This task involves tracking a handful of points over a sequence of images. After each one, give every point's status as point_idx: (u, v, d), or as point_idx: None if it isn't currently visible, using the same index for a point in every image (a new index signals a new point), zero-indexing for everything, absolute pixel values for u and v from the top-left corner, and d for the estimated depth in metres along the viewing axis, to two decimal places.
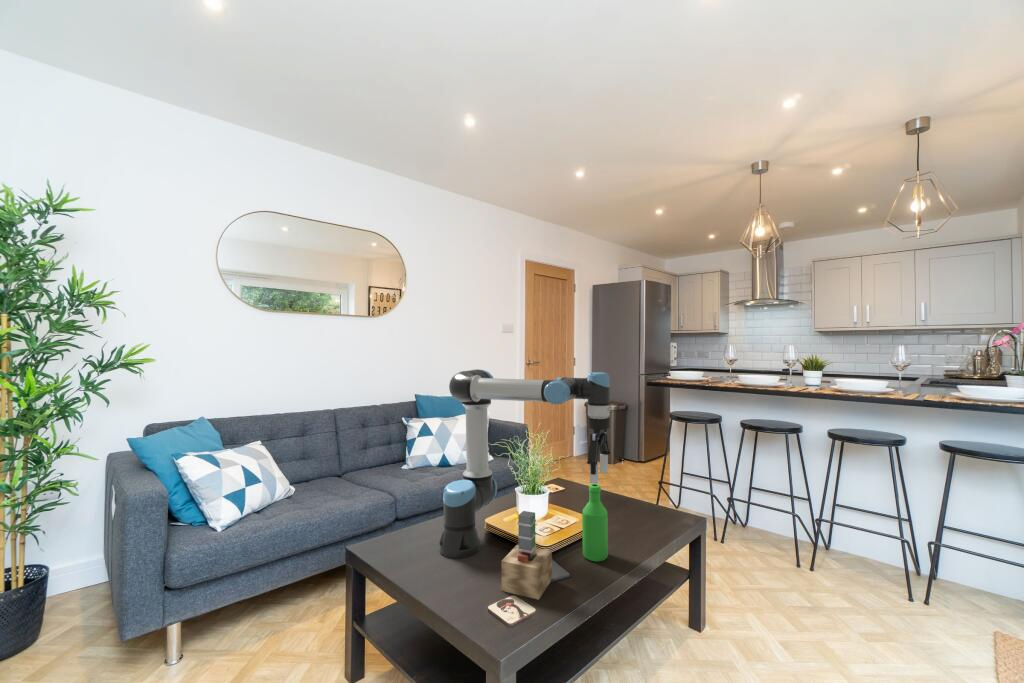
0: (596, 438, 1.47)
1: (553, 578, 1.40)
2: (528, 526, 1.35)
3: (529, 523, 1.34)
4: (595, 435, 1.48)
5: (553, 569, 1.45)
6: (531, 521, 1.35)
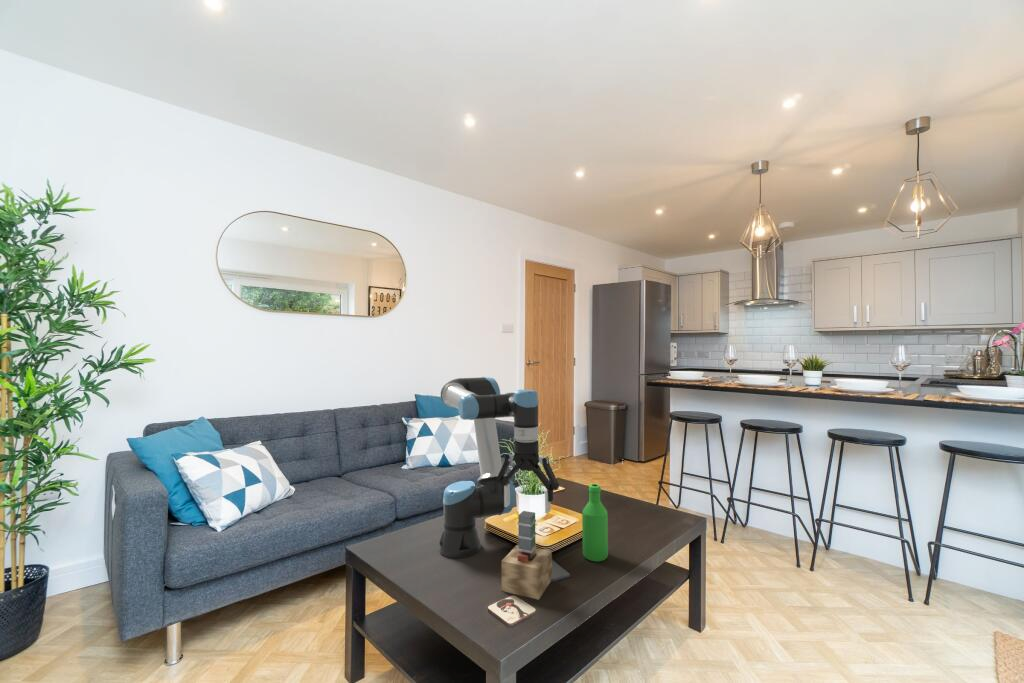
0: (505, 458, 1.39)
1: (553, 578, 1.40)
2: (528, 526, 1.35)
3: (529, 523, 1.34)
4: None
5: (553, 569, 1.45)
6: (531, 521, 1.35)
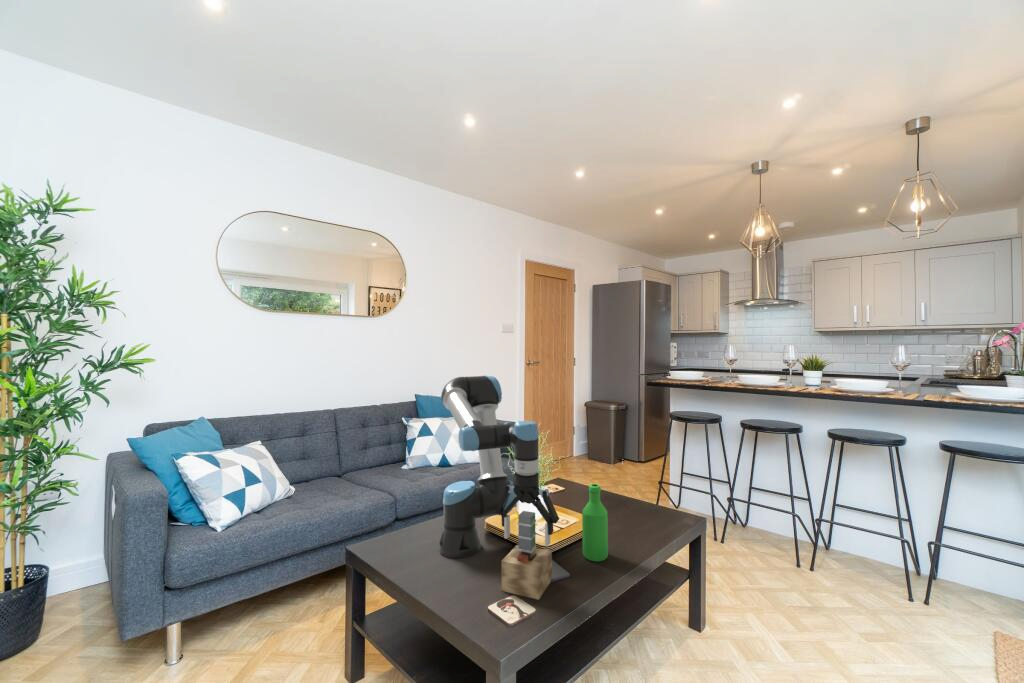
0: None
1: (553, 578, 1.40)
2: (528, 526, 1.35)
3: (529, 523, 1.34)
4: None
5: (553, 569, 1.45)
6: (531, 521, 1.35)
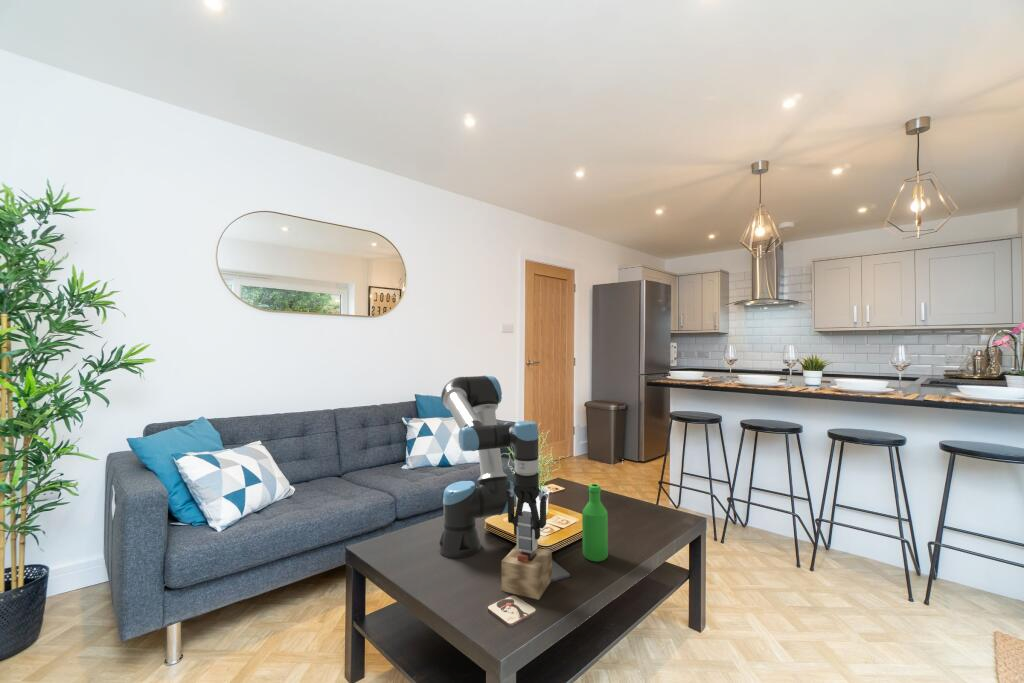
0: (507, 495, 1.39)
1: (553, 578, 1.40)
2: (528, 526, 1.35)
3: (529, 523, 1.34)
4: None
5: (553, 569, 1.45)
6: (531, 521, 1.35)
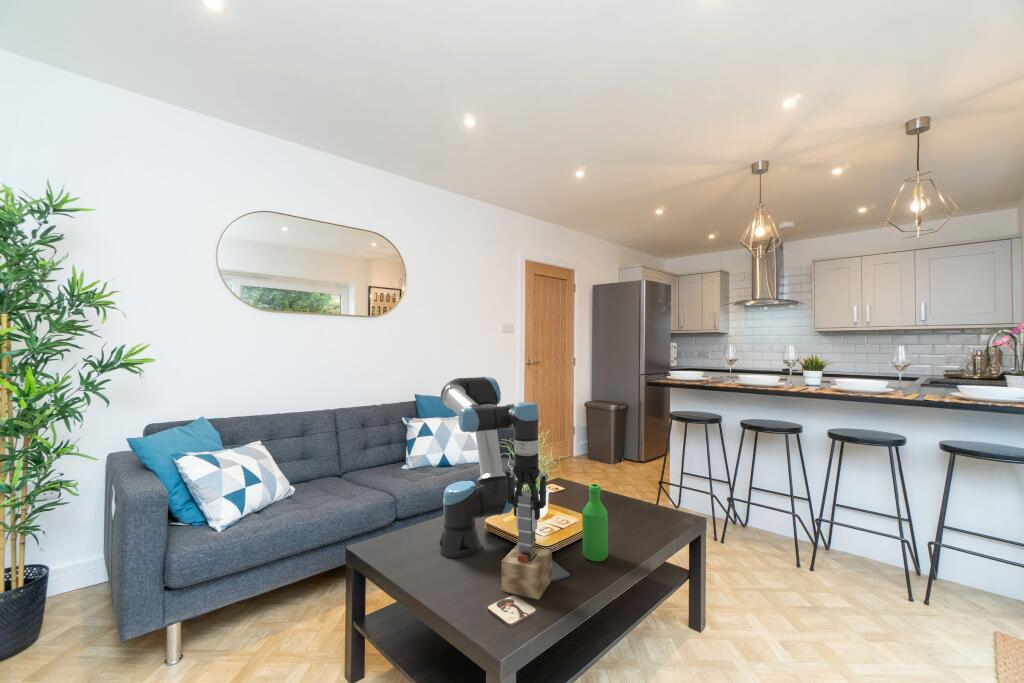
0: (507, 476, 1.39)
1: (553, 578, 1.40)
2: (528, 507, 1.35)
3: (529, 503, 1.35)
4: None
5: (553, 569, 1.45)
6: (531, 501, 1.35)
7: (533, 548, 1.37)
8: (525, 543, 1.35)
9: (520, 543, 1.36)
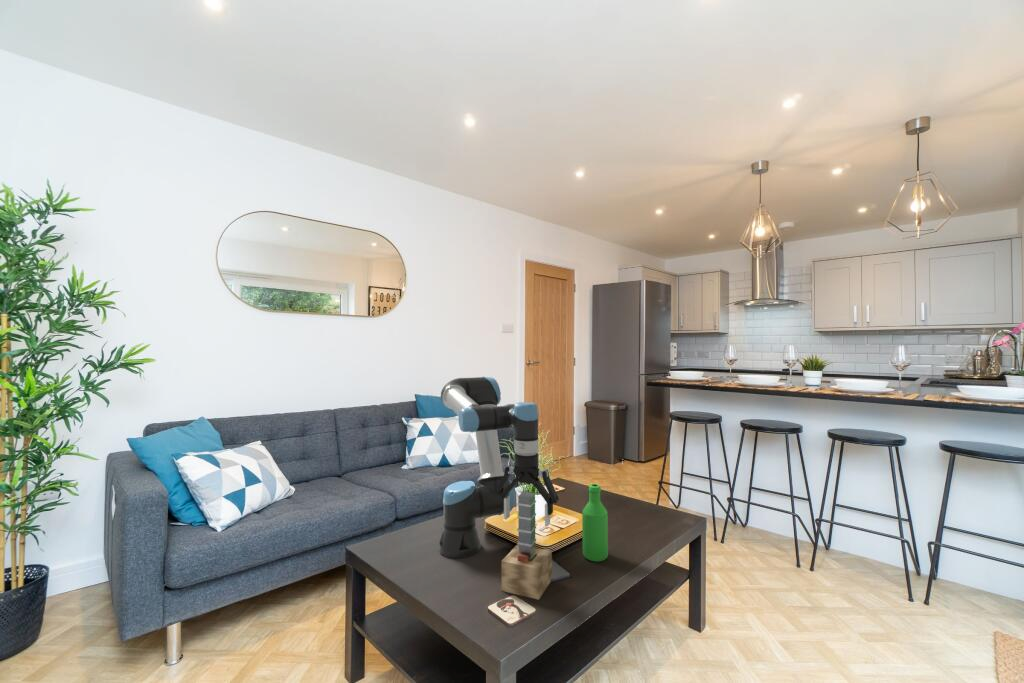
0: (505, 470, 1.39)
1: (553, 578, 1.40)
2: (528, 507, 1.35)
3: (529, 503, 1.35)
4: None
5: (553, 569, 1.45)
6: (531, 501, 1.35)
7: (533, 548, 1.37)
8: (525, 543, 1.35)
9: (520, 543, 1.36)
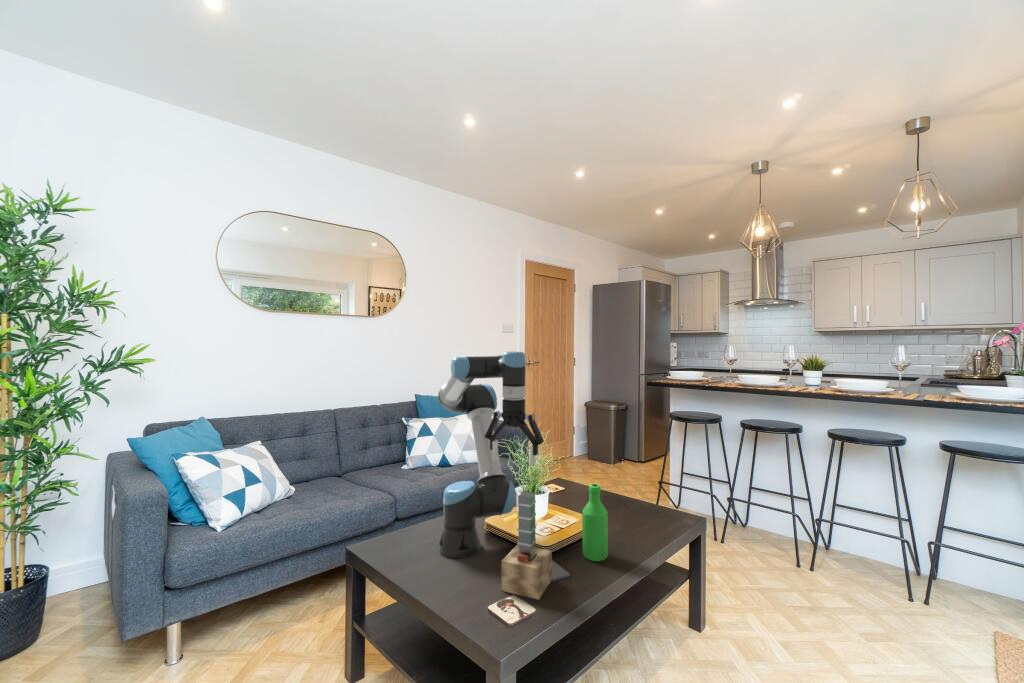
0: None
1: (553, 578, 1.40)
2: (528, 507, 1.35)
3: (529, 503, 1.35)
4: None
5: (553, 569, 1.45)
6: (531, 501, 1.35)
7: (533, 548, 1.37)
8: (525, 543, 1.35)
9: (520, 543, 1.36)
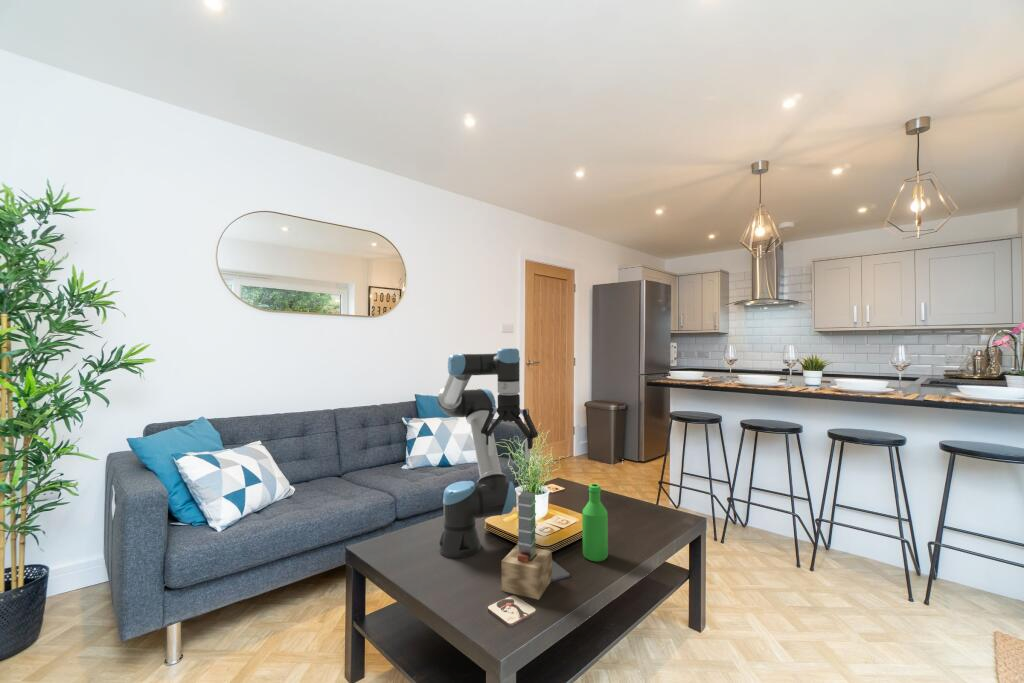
0: None
1: (553, 578, 1.40)
2: (528, 507, 1.35)
3: (529, 503, 1.35)
4: None
5: (553, 569, 1.45)
6: (531, 501, 1.35)
7: (533, 548, 1.37)
8: (525, 543, 1.35)
9: (520, 543, 1.36)
